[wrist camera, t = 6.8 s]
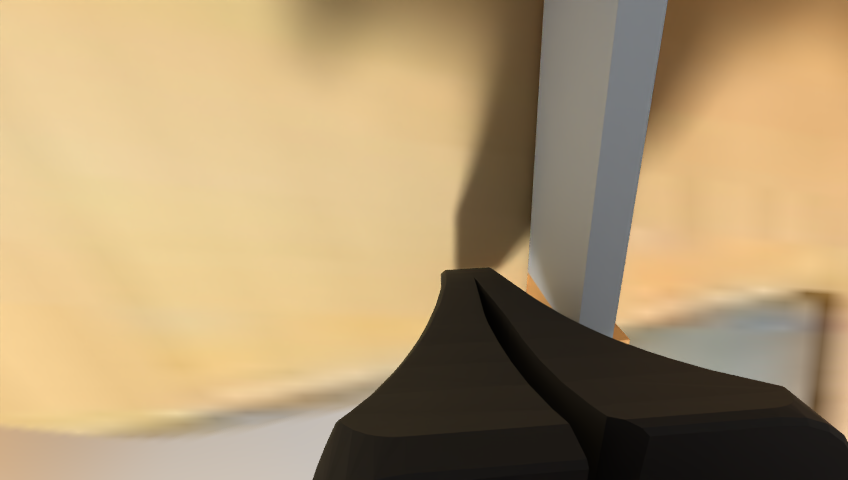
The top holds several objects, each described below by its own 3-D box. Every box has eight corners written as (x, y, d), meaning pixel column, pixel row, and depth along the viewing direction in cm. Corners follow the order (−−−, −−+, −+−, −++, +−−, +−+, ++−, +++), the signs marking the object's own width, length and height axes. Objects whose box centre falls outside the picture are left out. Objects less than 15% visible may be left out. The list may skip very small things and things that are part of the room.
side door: (561, 324, 13) (616, 408, 9) (524, 327, 13) (568, 412, 9) (619, -244, 8) (781, -484, 4) (558, -243, 8) (677, -484, 4)
